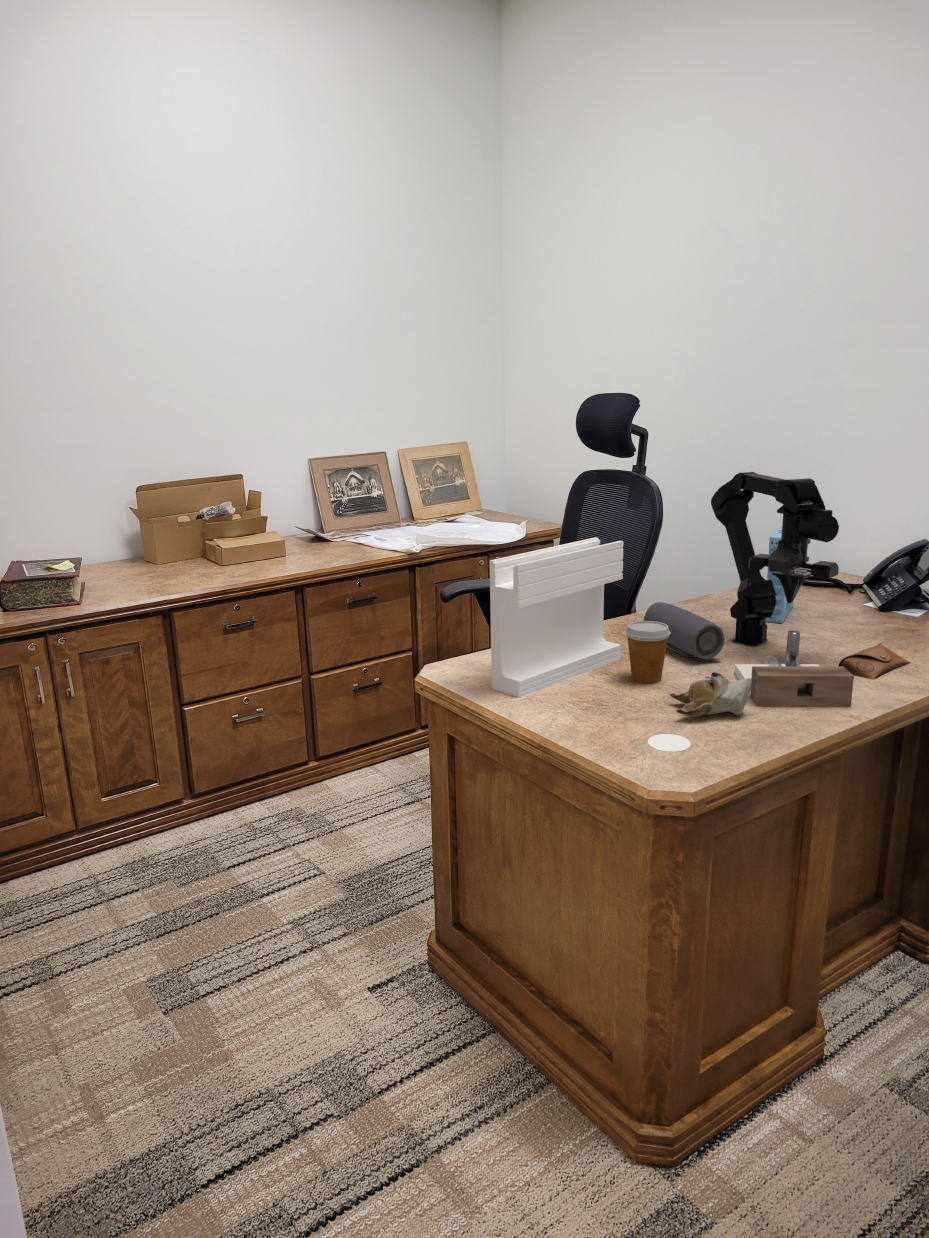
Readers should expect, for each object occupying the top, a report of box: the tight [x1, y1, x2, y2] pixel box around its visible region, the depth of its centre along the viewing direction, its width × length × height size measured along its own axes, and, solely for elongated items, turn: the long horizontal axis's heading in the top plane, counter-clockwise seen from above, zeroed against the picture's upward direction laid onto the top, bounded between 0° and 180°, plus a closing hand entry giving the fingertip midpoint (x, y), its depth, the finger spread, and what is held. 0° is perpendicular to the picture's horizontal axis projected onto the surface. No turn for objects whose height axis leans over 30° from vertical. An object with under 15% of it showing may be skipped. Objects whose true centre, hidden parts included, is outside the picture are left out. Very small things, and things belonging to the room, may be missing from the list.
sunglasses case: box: [837, 642, 911, 681], centre depth 194 cm, size 18×7×7 cm
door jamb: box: [750, 665, 855, 707], centre depth 175 cm, size 6×18×6 cm, turn 86°
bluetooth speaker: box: [643, 601, 726, 660], centre depth 208 cm, size 23×9×10 cm, turn 18°
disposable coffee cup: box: [625, 620, 670, 684], centre depth 189 cm, size 10×10×12 cm
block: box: [489, 537, 624, 698], centre depth 192 cm, size 35×8×28 cm, turn 134°
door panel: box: [733, 654, 821, 680], centre depth 186 cm, size 11×18×5 cm, turn 86°
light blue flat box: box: [766, 526, 794, 624], centre depth 236 cm, size 20×5×23 cm, turn 152°
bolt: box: [784, 630, 806, 690], centre depth 177 cm, size 8×2×10 cm, turn 176°
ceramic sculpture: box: [669, 671, 752, 718], centre depth 169 cm, size 11×9×15 cm
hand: (789, 602), depth 200 cm, fingers closed
